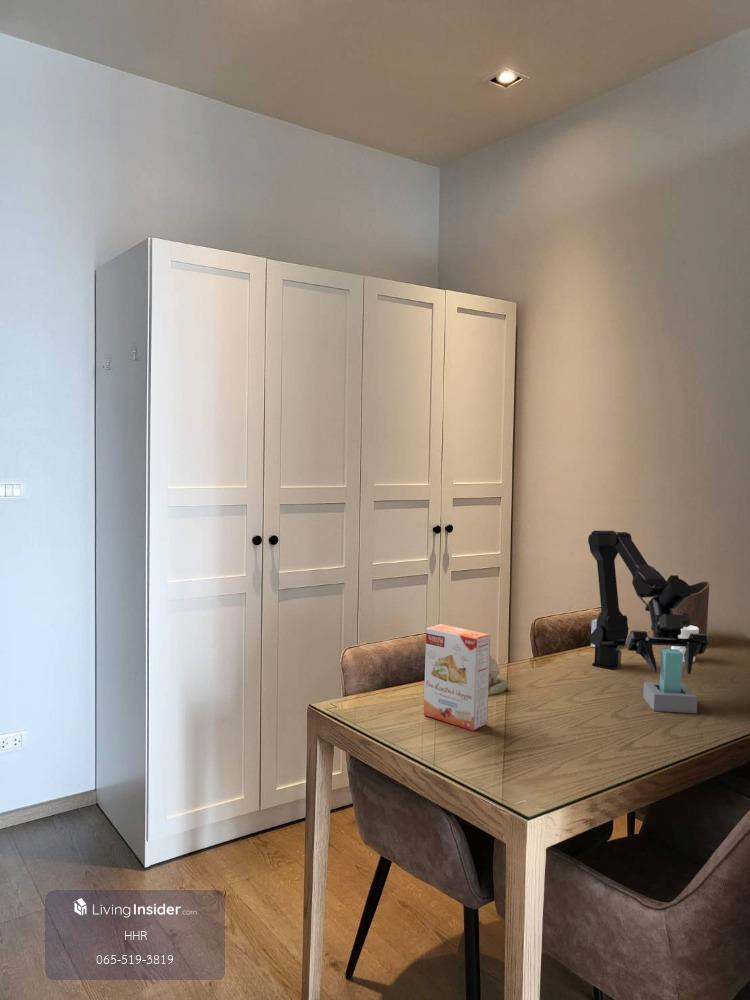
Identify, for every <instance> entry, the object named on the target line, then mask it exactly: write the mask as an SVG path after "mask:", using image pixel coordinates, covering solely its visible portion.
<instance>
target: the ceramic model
mask: <svg viewBox="0 0 750 1000" xmlns="http://www.w3.org/2000/svg"><path fill="white" fill-rule="evenodd" d="M498 674H500V669H499V666H498V662H497V661H496V659H495V658H494V657H492V656H491V655H490V660H489V687H488V696H491V695H496V694H500V693H503V692H504V691H506V688H507V680H506V678H505V679H504V678H502V677H499V676H498Z"/></svg>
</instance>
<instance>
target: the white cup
mask: <svg viewBox="0 0 750 1000" xmlns="http://www.w3.org/2000/svg"><path fill="white" fill-rule="evenodd" d="M690 633H694V634H699V628H698V627H696V626H692V625H690V626H688V627H683V629H681V634H680V635H678V638H682V639H688V638H689V636H690ZM670 649H677V650H679V651H680V652H681V653H683V663H685V659H684V653H685V651H686V649H685V647H678V646H670ZM696 657H697V656H695V657H693V663H694V662H696Z"/></svg>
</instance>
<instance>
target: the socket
mask: <svg viewBox="0 0 750 1000" xmlns="http://www.w3.org/2000/svg"><path fill="white" fill-rule="evenodd" d="M659 687H660V682H653V681H652V682H649V681H644V682H643V695H642V696H643V697H642V698H643V699H644V700H645V702H646V703H647V705H648V706H649V707H650V708H651V709H652V711H654V712H668V713H670V712H671V713H683V714H684V713H685V714H689V713H690V714H698V696H697V695H696V694H695V692H693V690H691V689H690V688H689V686H687V684H684V683H681V693H664V692H660V691H659Z"/></svg>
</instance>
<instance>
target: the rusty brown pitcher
mask: <svg viewBox="0 0 750 1000" xmlns="http://www.w3.org/2000/svg"><path fill="white" fill-rule="evenodd" d="M648 565H649V566H650V567H651V568H653V569H655V570H656V571H657V569H656V568H655V567H654V566H652V565H650V564H648ZM690 587H691V590H692V593H691V595H690V596H689V597H688V598H687V599H686V600H685V601H684V602H683V603H682V604H681V605H680V606H679V607H678V608H676V609H673V613H674V615H680V614H681V613H689V616H690V622H691V624H690V625H692V626H696V627H698V628H699V634H705V635H706V636H707V637H708V635H707V633H708V616H709V615H708V614H709V598H710V582H708V581H705V580H704V581H700V582H698V583H694V584H690ZM635 594H636V596H637V597H638V598H639V599H640V600H641V602H642V603H644V605H645V607H646V606H647V605H648V602H646V601H645V599H644V598H642V597H639V596H638V595H637V593H636V592H635ZM651 637H654V634H652V636H651ZM709 645H710V646H711V643H710V642H709V644H708V646H709ZM710 646H709V647H710Z"/></svg>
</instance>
